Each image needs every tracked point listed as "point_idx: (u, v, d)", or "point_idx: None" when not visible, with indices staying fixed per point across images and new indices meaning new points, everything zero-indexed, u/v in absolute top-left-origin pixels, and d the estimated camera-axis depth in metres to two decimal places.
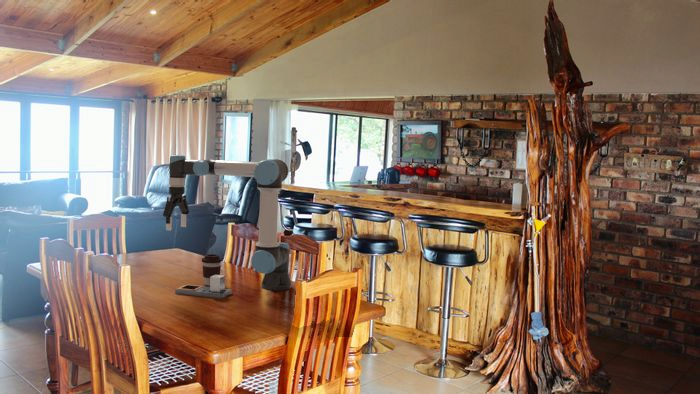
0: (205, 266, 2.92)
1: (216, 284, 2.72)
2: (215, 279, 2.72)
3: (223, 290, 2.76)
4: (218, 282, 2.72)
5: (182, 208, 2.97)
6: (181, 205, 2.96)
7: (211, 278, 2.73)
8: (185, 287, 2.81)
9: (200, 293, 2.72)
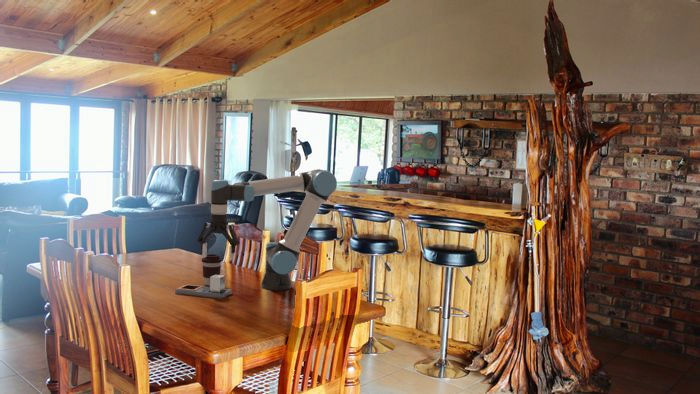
0: (205, 266, 2.92)
1: (216, 284, 2.72)
2: (215, 279, 2.72)
3: (223, 290, 2.76)
4: (218, 282, 2.72)
5: None
6: None
7: (211, 278, 2.73)
8: (185, 287, 2.81)
9: (200, 293, 2.72)
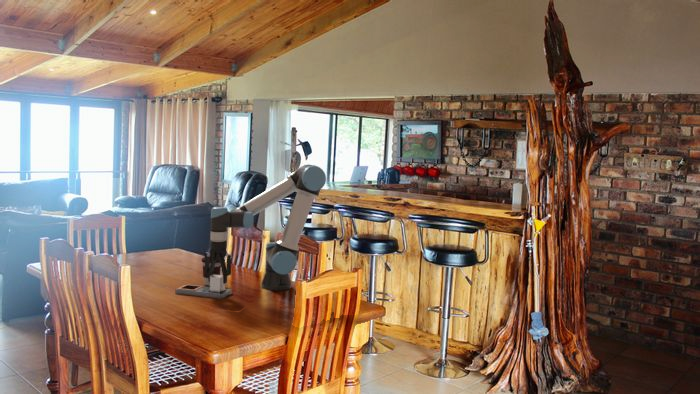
0: None
1: (216, 284, 2.72)
2: (215, 279, 2.72)
3: (223, 290, 2.76)
4: (218, 282, 2.72)
5: None
6: None
7: (211, 278, 2.73)
8: (185, 287, 2.81)
9: (200, 293, 2.72)
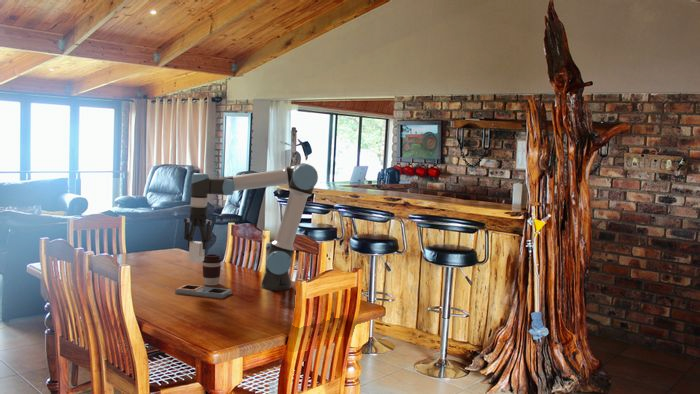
0: (205, 266, 2.92)
1: (195, 250, 2.73)
2: (195, 245, 2.73)
3: (202, 256, 2.77)
4: (197, 248, 2.73)
5: None
6: None
7: (191, 244, 2.74)
8: (185, 287, 2.81)
9: (200, 293, 2.72)
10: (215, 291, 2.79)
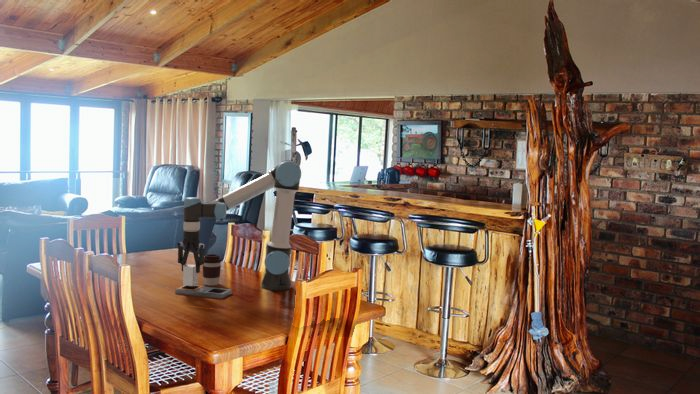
0: (205, 266, 2.92)
1: (189, 273, 2.75)
2: (188, 268, 2.75)
3: None
4: (190, 271, 2.75)
5: None
6: None
7: (184, 267, 2.76)
8: (185, 287, 2.81)
9: (200, 293, 2.72)
10: (215, 291, 2.79)
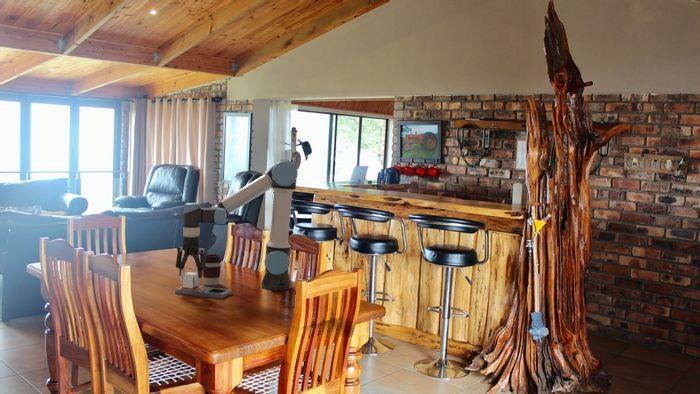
0: None
1: (189, 281, 2.76)
2: (188, 276, 2.76)
3: (196, 287, 2.79)
4: (190, 279, 2.75)
5: None
6: None
7: (184, 275, 2.76)
8: None
9: (200, 293, 2.72)
10: (215, 291, 2.79)
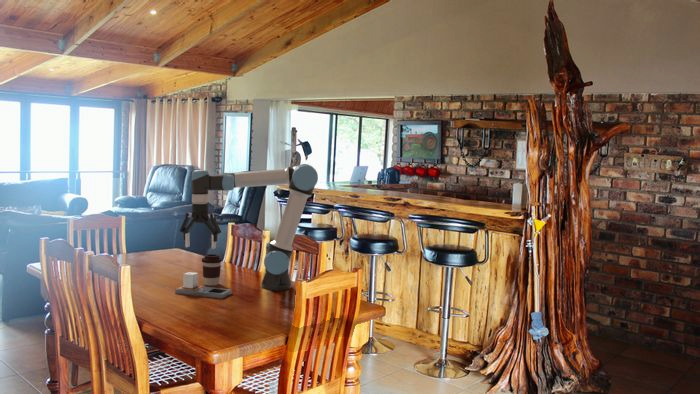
0: (205, 266, 2.92)
1: (189, 281, 2.76)
2: (188, 276, 2.76)
3: (196, 287, 2.79)
4: (190, 279, 2.75)
5: None
6: None
7: (184, 275, 2.76)
8: None
9: (200, 293, 2.72)
10: (215, 291, 2.79)
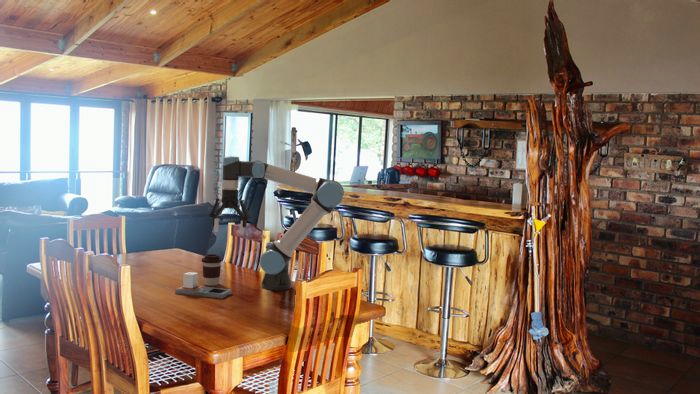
0: (205, 266, 2.92)
1: (189, 281, 2.76)
2: (188, 276, 2.76)
3: (196, 287, 2.79)
4: (190, 279, 2.75)
5: None
6: None
7: (184, 275, 2.76)
8: None
9: (200, 293, 2.72)
10: (215, 291, 2.79)
